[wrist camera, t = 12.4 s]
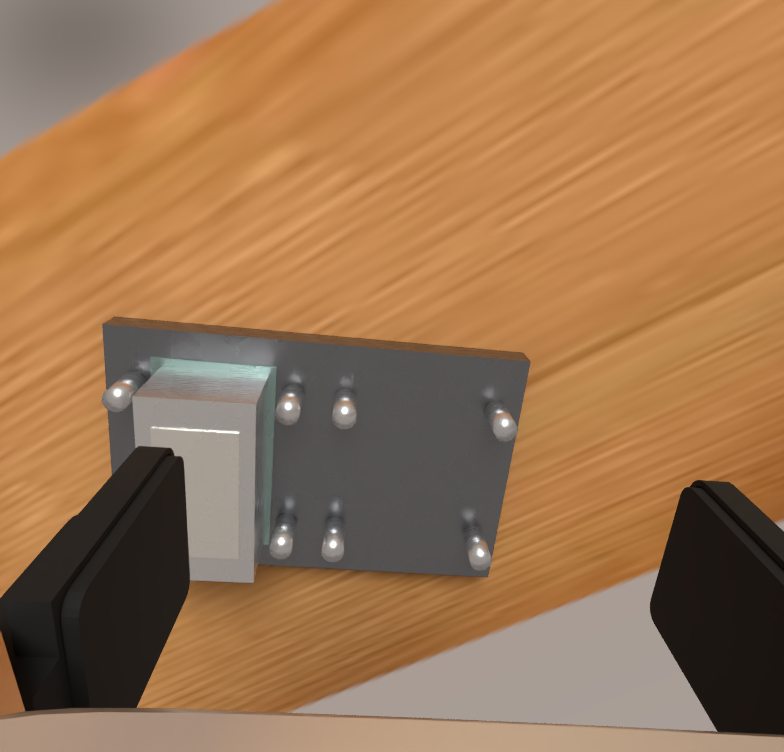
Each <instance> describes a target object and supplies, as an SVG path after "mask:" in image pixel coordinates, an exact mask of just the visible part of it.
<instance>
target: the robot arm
mask: <svg viewBox="0 0 784 752" xmlns="http://www.w3.org/2000/svg"><path fill="white" fill-rule="evenodd" d="M189 583H190V567H189V548H188V529H187V510H186V491H185V471H184V460H183V458H182V457H181V456H174V452H173V450H172V449H171V448H165V447H149V446H138V447H137V448H135V450H134V451H133V452H132V453H131V454H130V455H129V457H128V458H127V459H126V460H125V461H124V462H123V463H122V465H121V466H120V467H119V468H118V469H117V470H116V472H115V473H114V474H113V475H112V476H111V477H110V478H109V480H108V481H107V482H106V483H105V484H104V485H103V486H102V488H101V489H100V490H99V491H98V492H97V493H96V495H95V496H94V497H93V498H92V499H91V500H90V501H89V503H88V504H87V505H86V506H85V507H84V508H83V510H82V511H81V512H80V513H79V514H78V515H76V516H74V517H72V518H71V519H70V520H69V521H68V522H67V523H66V524H65V525H64V526H63V528H62V529H61V530H60V531H59V532H58V533H57V534H56V535H55V537H54V538H53V539H52V540H51V541H50V542H49V543H48V545H47V546H46V547H45V548H44V549H43V550H42V551H41V553H40V554H39V555H38V556H37V557H36V558H35V559H34V560H33V562H32V563H31V564H30V565H29V566H28V567H27V568H26V570H25V571H24V572H23V573H22V574H21V575H20V576H19V578H18V579H17V580H16V581H15V582H14V583H13V584H12V586H11V587H10V588H9V589H8V590H7V591H6V592H5V593H4V595H3V596H2V597H1V598H0V752H784V531H782V530H781V529H780V528H779V527H778V526H777V525H776V524H775V523H774V522H773V521H772V520H771V519H770V518H769V517H767V516H766V515H765V514H764V513H763V512H762V511H761V510H760V509H759V508H758V507H757V506H756V505H754V504H753V503H752V502H751V501H750V500H749V499H748V498H747V497H746V496H745V495H744V494H743V493H741V492H740V491H739V490H738V489H737V488H736V487H735V486H734V485H733V484H731V483H729V482H719V481H702V480H697V481H695V482H693V483H692V485H691V486H690V487H687V488H684V490H683V491H682V493H681V495H680V499H679V503H678V506H677V510H676V513H675V517H674V520H673V524H672V527H671V531H670V534H669V538H668V541H667V545H666V548H665V552H664V555H663V559H662V562H661V566H660V569H659V573H658V577H657V580H656V583H655V587H654V591H653V594H652V598H651V602H650V612H651V617H652V620H653V622H654V624H655V626H656V627H657V629H658V631H659V632H660V634H661V636H662V638H663V639H664V641H665V643H666V644H667V646H668V648H669V650H670V651H671V653H672V655H673V656H674V658H675V660H676V661H677V663H678V665H679V667H680V668H681V670H682V672H683V673H684V675H685V677H686V678H687V680H688V682H689V683H690V685H691V687H692V689H693V690H694V692H695V694H696V695H697V697H698V699H699V701H700V702H701V704H702V706H703V707H704V709H705V711H706V713H707V714H708V716H709V718H710V719H711V721H712V723H713V724H714V726H715V728H716V730H717V731H718V732H713V731H692V730H673V729H652V728H632V727H610V726H589V725H568V724H546V723H522V722H501V721H478V720H455V719H453V720H452V719H432V718H407V717H382V716H381V717H380V716H356V715H329V714H328V715H327V714H303V713H277V712H251V711H225V710H199V709H174V708H136V707H137V705H138V703H139V701H140V699H141V696H142V694H143V692H144V690H145V688H146V685H147V683H148V681H149V679H150V676H151V674H152V672H153V670H154V668H155V665H156V663H157V661H158V659H159V657H160V654H161V652H162V650H163V648H164V646H165V643H166V641H167V639H168V637H169V635H170V632H171V630H172V628H173V626H174V624H175V621H176V619H177V617H178V615H179V613H180V610H181V608H182V606H183V604H184V601H185V599H186V597H187V594H188V590H189Z"/></svg>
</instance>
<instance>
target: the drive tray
mask: <svg viewBox="0 0 784 752" xmlns="http://www.w3.org/2000/svg"><path fill="white" fill-rule="evenodd" d="M102 325H103V341H104V357H105V373H106V388H107V391H106V392H104V394H103V395H102V403H103V405H104V406H105V408H106V409H108V420H109V436H110V452H111V467H112V475H113V474H114V473H115V472H116V470H117V469H118V468H119V467H120V466H121V465H122V463H123V462H124V461H125V460H126V459H127V458H128V457H129V455H130V454H131V453H132V452H133V451H134V450H135V433H134V418H133V402H132V396H133V395H134V394H135V393H136V392H137V391H138V390H139V389H140V388H141V387H142V386H143V385H144V384H145V383H146V382H147V381H148V380H149V379H150V378H151V377H152V375H153V374H154V373H155V372H156V371H157V370H158V369H159V368H160V367H168V368H182V369H197V370H212V371H226V372H241V373H256V374H269V396H268V443H267V491H266V536H265V540H264V544H263V548H262V552H261V556H260V560H259V564H258V565H276V566H294V567H312V568H331V569H349V570H367V571H385V572H403V573H421V574H440V575H458V576H476V577H488V574H489V569H490V565H491V563H492V554H493V549H494V544H495V539H496V533H497V528H498V523H499V518H500V513H501V508H502V503H503V498H504V493H505V488H506V483H507V478H508V473H509V468H510V463H511V458H512V452H513V447H514V442H515V437H516V435H517V432H518V422H519V417H520V412H521V407H522V402H523V397H524V392H525V387H526V382H527V377H528V371H529V366H530V360H529V359H528V358H527V357H526V356H525V355H524V353H519V352H508V351H496V350H485V349H474V348H462V347H451V346H440V345H429V344H417V343H406V342H395V341H383V340H372V339H361V338H349V337H338V336H327V335H315V334H304V333H293V332H281V331H270V330H259V329H248V328H236V327H225V326H214V325H202V324H191V323H180V322H168V321H157V320H146V319H134V318H123V317H113V318H112V319H110V320H108V321H107V322H105V323H103V324H102Z"/></svg>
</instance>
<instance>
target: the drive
mask: <svg viewBox="0 0 784 752" xmlns="http://www.w3.org/2000/svg"><path fill="white" fill-rule="evenodd" d="M268 396H269V374H256V373H241V372H226V371H212V370H197V369H182V368H168V367H160V368H159V369H158V370H157V371H156V372H155V373H154V374H153V375H152V377H151V378H150V379H149V380H148V381H147V382H146V383H145V384H144V385H143V386H142V387H141V388H140V389H139V390H138V391H137V392H136V393H135V394H134V395H133V396H132V402H133V418H134V433H135V448H137V447H138V446H149V447H165V448H171V449H172V450H173V452H174V456H181V457H182V458H183V460H184V471H185V491H186V510H187V529H188V548H189V567H190V580H195V581H220V582H245V583H254V579H255V576H256V572H257V568H258V564H259V560H260V556H261V552H262V548H263V544H264V540H265V536H266V491H267V443H268Z"/></svg>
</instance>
